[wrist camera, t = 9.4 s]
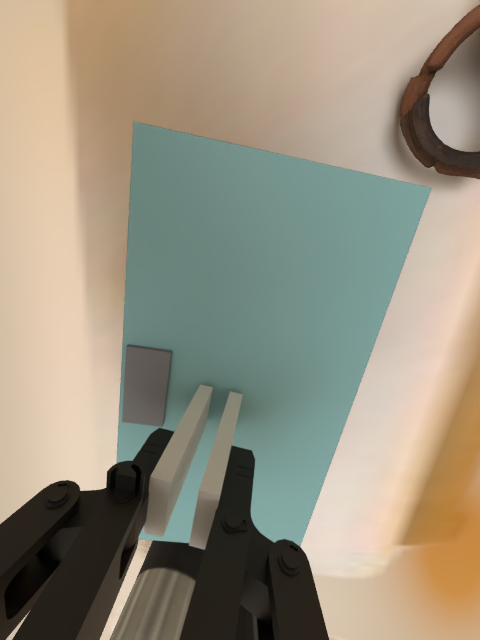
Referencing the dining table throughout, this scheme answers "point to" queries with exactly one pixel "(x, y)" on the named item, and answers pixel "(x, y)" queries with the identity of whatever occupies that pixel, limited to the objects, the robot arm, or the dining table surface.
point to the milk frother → (167, 596)
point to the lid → (254, 307)
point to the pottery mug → (417, 109)
